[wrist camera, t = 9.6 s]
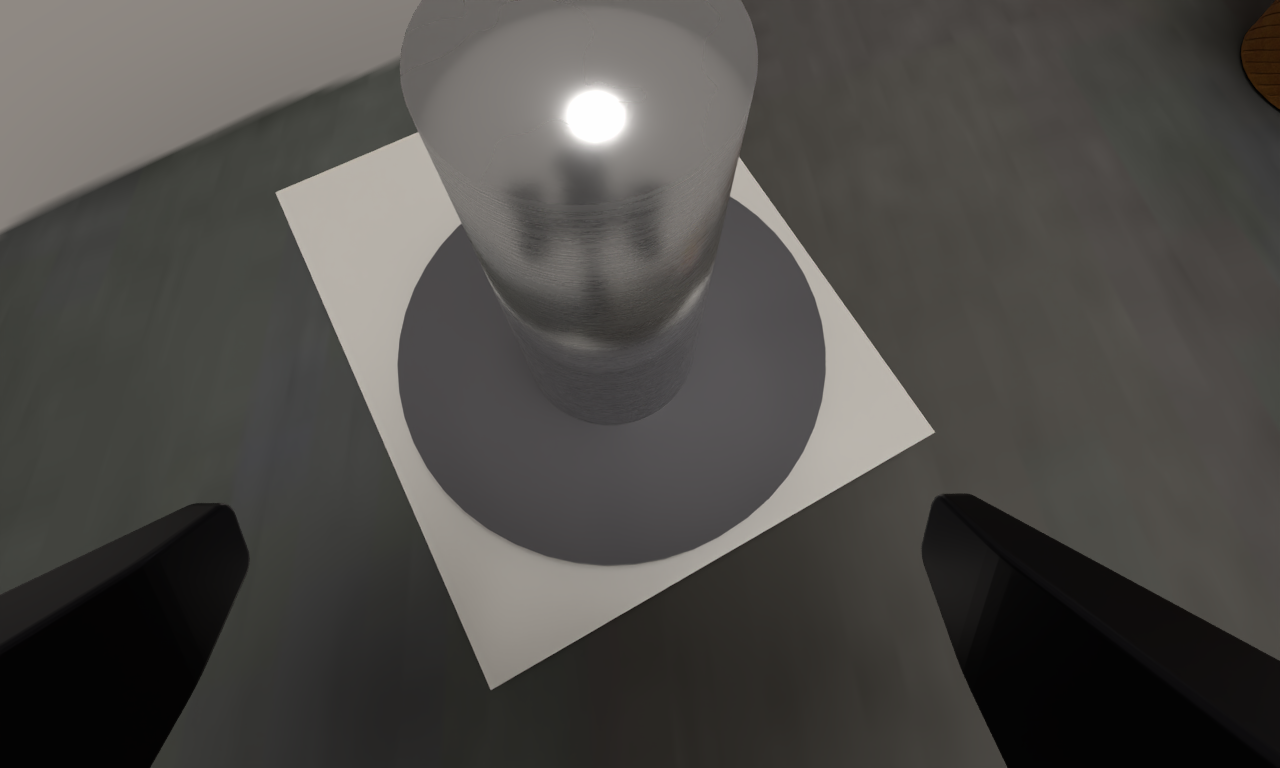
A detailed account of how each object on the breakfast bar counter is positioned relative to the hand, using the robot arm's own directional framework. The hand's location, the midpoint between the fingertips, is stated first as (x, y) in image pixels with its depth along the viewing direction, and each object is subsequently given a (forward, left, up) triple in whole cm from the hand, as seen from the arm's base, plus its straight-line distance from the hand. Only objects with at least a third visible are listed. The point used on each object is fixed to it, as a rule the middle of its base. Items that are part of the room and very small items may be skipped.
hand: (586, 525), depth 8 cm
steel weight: (+3, +6, -10) cm, 12 cm away
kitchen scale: (+3, +8, -13) cm, 16 cm away
